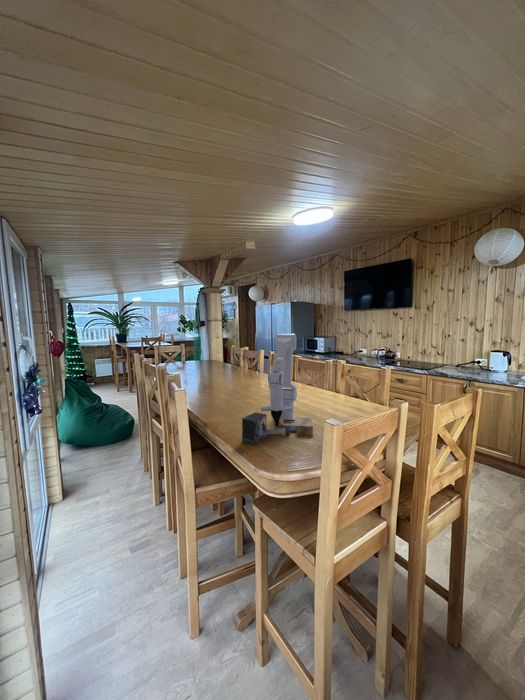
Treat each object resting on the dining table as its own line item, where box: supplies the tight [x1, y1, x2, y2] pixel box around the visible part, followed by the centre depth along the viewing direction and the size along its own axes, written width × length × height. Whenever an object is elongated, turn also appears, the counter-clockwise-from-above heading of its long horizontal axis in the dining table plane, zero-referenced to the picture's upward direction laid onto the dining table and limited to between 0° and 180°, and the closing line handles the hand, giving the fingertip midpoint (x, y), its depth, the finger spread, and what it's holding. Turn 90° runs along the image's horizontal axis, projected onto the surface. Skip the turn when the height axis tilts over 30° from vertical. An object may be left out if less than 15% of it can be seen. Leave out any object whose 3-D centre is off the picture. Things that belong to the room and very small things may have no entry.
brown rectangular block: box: [278, 419, 297, 432], centre depth 143 cm, size 12×6×4 cm, turn 84°
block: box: [296, 417, 314, 436], centre depth 142 cm, size 7×12×4 cm, turn 174°
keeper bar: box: [267, 427, 286, 435], centre depth 137 cm, size 8×1×2 cm, turn 84°
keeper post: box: [285, 426, 291, 437], centre depth 137 cm, size 2×2×4 cm
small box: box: [241, 411, 268, 446], centre depth 132 cm, size 11×6×10 cm, turn 148°
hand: (276, 426), depth 143 cm, fingers closed
